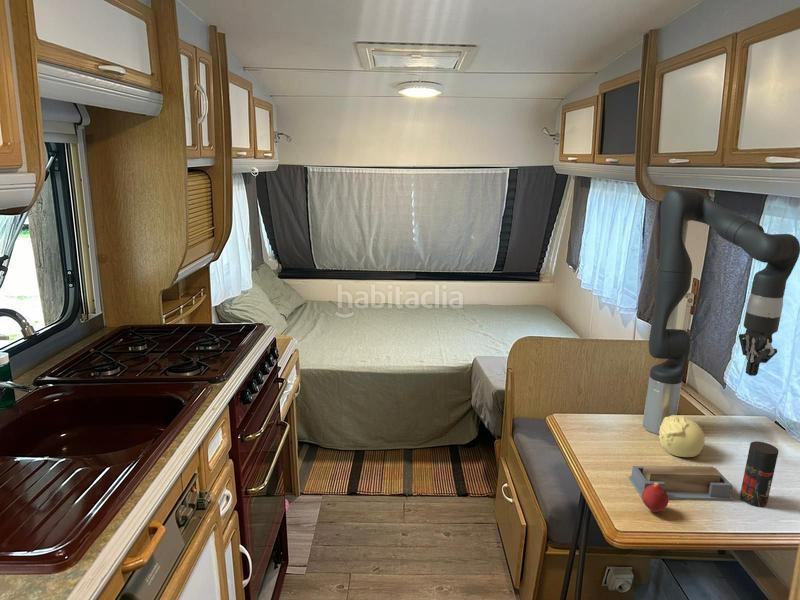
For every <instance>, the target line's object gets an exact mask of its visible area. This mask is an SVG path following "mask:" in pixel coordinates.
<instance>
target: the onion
mask: <svg viewBox="0 0 800 600" xmlns="http://www.w3.org/2000/svg"><path fill="white" fill-rule="evenodd" d="M641 501H642V502H643V504H644V505H645V506H646V507H647V508H648V510H649V511H650V512H651V513H655V512H656V513H658V512H661V511H663V510H665V509H666V507H667V506H668V504H669V499H668V495H667V493H666V491H665V490H664V489H663V488H662V487H661V486H660V485H659V484H658V483H657V482H654V484H653V485H649V486H647V487H646V488H645V489H644V491H643V493H642V498H641Z"/></svg>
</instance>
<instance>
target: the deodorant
mask: <svg viewBox="0 0 800 600" xmlns="http://www.w3.org/2000/svg"><path fill="white" fill-rule="evenodd" d="M778 456H779V448H777V446H775V445H773V444H770V443H767V442H764V441H757V440H755V441H751V442H750V445H749V449H748V453H747V459H746V463H745V468H744V473H743V478H742V483H741V487H740V492H739V498H740V500H741V501H743V502H744V503H745V504H747V505H749V506H751V507H752V506H753V507H755V508H764V507H767V506H768V501H769V496H770V492H771V487H772V484H773V480H774V473H775V471H776V470H775V469H776V464H777V461H778Z"/></svg>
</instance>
